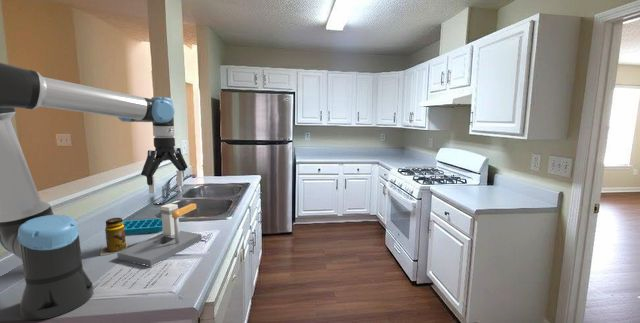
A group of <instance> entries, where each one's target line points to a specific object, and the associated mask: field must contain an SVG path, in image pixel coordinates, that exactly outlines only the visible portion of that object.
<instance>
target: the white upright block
mask: <svg viewBox="0 0 640 323" xmlns="http://www.w3.org/2000/svg"><path fill="white" fill-rule="evenodd" d="M178 209H180V208H179V205H178V204H175V203H166V204H164V205H161V206H160V209H159V210H160V211H159V212H160V215H161V218H162V228H163V231H162V233H163V234H164V235H169V236H172V235H174V234H175V229H174V218H172V212H173V211H176V210H178ZM179 217H180V216H179ZM179 217H178V228H179V232H180V231H181V230H180V218H179Z"/></svg>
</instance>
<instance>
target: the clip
mask: <svg viewBox="0 0 640 323" xmlns="http://www.w3.org/2000/svg"><path fill="white" fill-rule="evenodd" d="M196 209H197V203H189V204H187V205H185V206H182V207H180V208H179V209H178V210H176V211H173V212H172V218H174V229H175V243H179V230H180V227H179V228H178V217H181V216H184V215H185V214H188V213H189V212H192V211H194V210H196Z"/></svg>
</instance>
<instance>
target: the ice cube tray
mask: <svg viewBox="0 0 640 323" xmlns="http://www.w3.org/2000/svg"><path fill="white" fill-rule="evenodd" d="M122 221H123V220H122ZM123 225H124V229H125V236H126V235H127V236H128V235H137V234H151V233H163V228H162V217H161V218H149V219H136V220H135V219H134V220H124V221H123Z"/></svg>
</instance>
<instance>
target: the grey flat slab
mask: <svg viewBox="0 0 640 323" xmlns="http://www.w3.org/2000/svg"><path fill="white" fill-rule="evenodd" d="M202 240H203V238H202V233H201V234H200V233H195V232H190V231H186V230H180V232H179V243H175V234H174V235H172V236H169V235H164V234H163V232H161V233H160V234H157V235H155V236H152V237H150V238H148V239H145V240H142V241H141V242H138V243H136V244H134V245H132V246H130V247H127V249H125V250H122V251H120V252H117V260H118V261H123V260H124V261H123V262H127V261H129V262H128V263H131V262H135V263H134V264H136V263H140V264H145V265H148V266H152V265H154V264H156V263H158V262H160V261H162V262H164V261H165V259H166V260H168V259H170V258H171V257H173V256H174V255H176V253H177V254H178V252H179V253H180V252H182V251H184V250H186V249H187V248H189V247H192V246H193V245H195V244H197V243H200V242H201V241H202ZM161 243H162V244H161ZM163 260H164V261H163ZM160 263H161V262H160ZM140 264H139V265H140ZM158 264H159V263H158ZM156 265H157V264H156ZM148 266H147V267H148ZM154 266H155V265H154Z"/></svg>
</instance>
